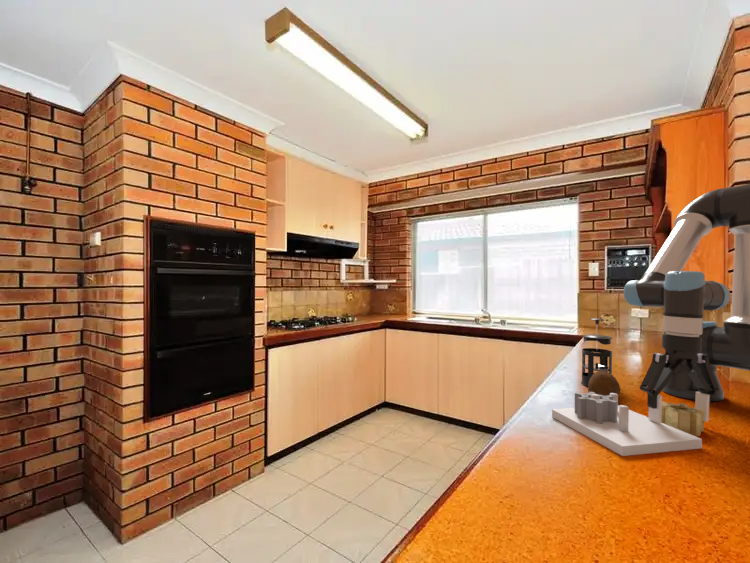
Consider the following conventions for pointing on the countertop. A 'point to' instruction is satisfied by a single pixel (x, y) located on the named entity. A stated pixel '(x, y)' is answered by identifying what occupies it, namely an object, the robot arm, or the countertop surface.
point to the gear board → (635, 436)
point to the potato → (603, 384)
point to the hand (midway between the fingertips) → (678, 421)
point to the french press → (591, 353)
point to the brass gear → (683, 418)
